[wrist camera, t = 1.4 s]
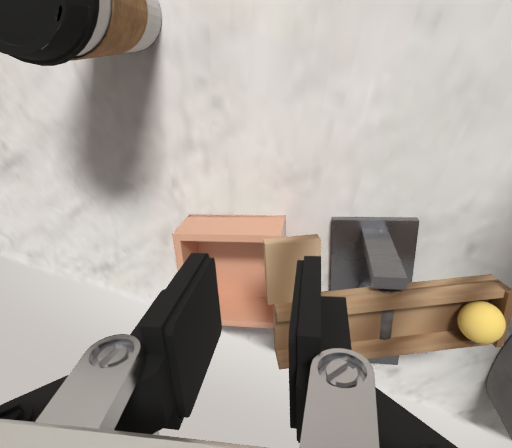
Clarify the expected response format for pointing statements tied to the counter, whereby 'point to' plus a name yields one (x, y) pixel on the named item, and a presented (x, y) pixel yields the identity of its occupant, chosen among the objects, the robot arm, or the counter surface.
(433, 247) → the counter surface
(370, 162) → the counter surface
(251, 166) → the counter surface
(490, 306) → the ball
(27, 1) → the coffee cup
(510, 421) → the flask
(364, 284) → the pivot stand
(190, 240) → the pink open box
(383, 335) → the lever
